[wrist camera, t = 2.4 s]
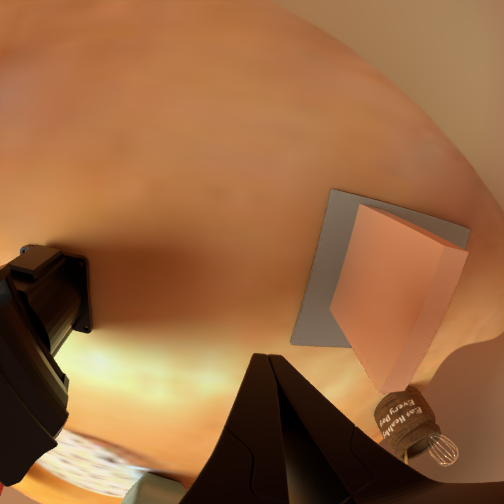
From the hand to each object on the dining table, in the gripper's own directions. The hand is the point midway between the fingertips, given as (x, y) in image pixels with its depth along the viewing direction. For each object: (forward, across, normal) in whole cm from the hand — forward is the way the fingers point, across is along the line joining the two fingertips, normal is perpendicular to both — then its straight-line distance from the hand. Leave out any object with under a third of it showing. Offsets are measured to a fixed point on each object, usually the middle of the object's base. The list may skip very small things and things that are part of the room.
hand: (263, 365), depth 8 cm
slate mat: (+12, -12, +2) cm, 17 cm away
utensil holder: (+12, -20, +16) cm, 28 cm away
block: (+12, -8, 0) cm, 14 cm away
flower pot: (+12, +6, +36) cm, 38 cm away
